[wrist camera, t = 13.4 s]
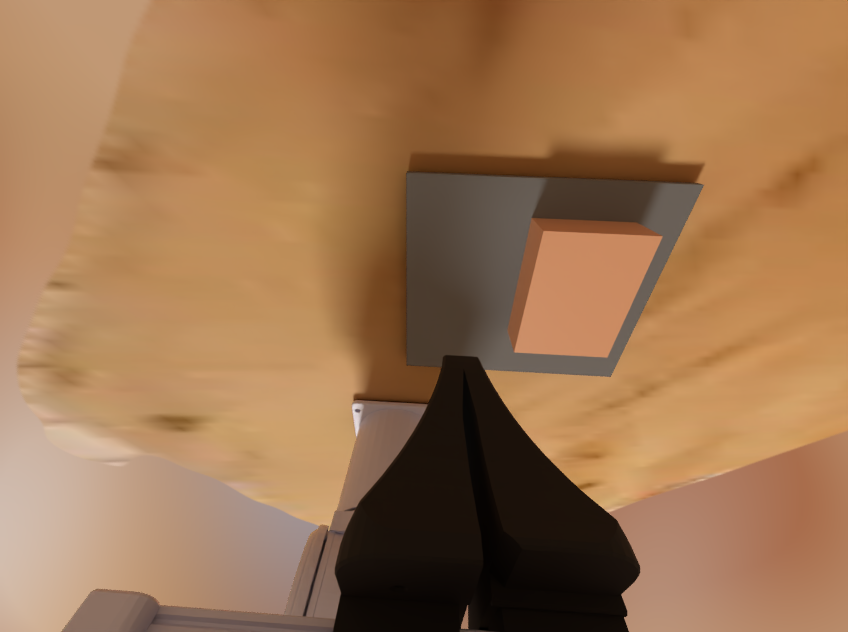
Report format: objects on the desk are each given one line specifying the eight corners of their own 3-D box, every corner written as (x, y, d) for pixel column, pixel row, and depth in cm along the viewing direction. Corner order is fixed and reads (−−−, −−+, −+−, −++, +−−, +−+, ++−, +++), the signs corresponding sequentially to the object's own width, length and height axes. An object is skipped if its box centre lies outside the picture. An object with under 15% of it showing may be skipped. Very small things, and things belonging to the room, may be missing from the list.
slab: (507, 330, 22) (591, 334, 22) (514, 352, 20) (607, 357, 20) (531, 217, 18) (636, 222, 18) (543, 230, 16) (662, 236, 16)
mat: (607, 371, 25) (610, 376, 24) (407, 360, 25) (406, 365, 24) (696, 182, 17) (704, 185, 16) (407, 171, 17) (406, 172, 17)
